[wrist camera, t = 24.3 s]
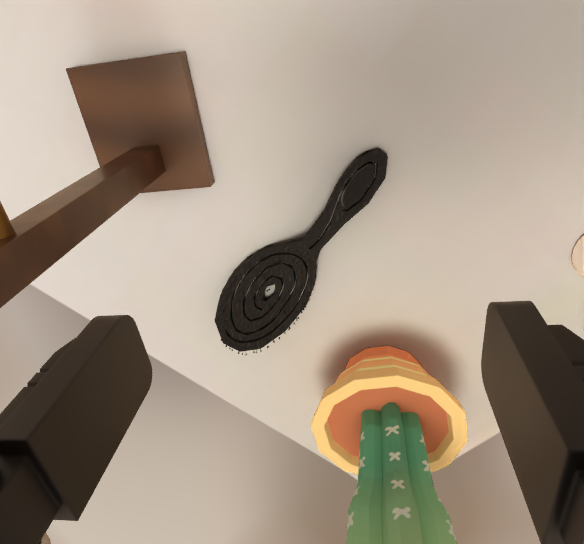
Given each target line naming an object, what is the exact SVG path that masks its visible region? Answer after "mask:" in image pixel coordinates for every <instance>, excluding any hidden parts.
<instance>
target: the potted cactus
mask: <svg viewBox="0 0 584 544" xmlns="http://www.w3.org/2000/svg"><path fill="white" fill-rule="evenodd" d="M311 428H312V431H313V434H314V437H315V440H316V443H317V446H318V449H319V451H320V452H321V453H322V454H324V455H325V456H326V457H327V458H329V459H330V460H331V461H333V462H334V463H335V464H336V465H338V466H339V467H340V468H341V469H343V470H344V471H347V472H351V473H354V474H358V484H357V487H356V490H355V493H354V496H353V498H352V502H351V504H350V507H349V511H348V527H347V543H346V544H457V541H456V537H455V533H454V530H453V526H452V522H451V519H450V517H449V515H448V513H447V511H446V510H445V507H444V506H443V504H442V502H441V500H440V498H439V496H438V494H437V493H436V491H435V489H434V485H433V480H432V475H431V472H434V471H436V470H438V469H441V468H443V467H445V466H448V465H450V463H451V462H452V461H453V460H454V458H455V457H456V456H457V454H458V453H459V452H460V451H461V449H462V448H463V447H464V445H465V444H466V443H467V442H468V436H467V424H466V413H465V411H464V409H463V408H462V406H461V404H460V403H459V401H458V400H457V399H456V398H455V397H454V396H453V395H452V394H451V393H450V392H449V391H448V390H446V389H445V388H444V387H443V386H442V385H441V384H440V383H439V382H438V381H437V380H436V379H435V378H433V377H431V376H430V375H429V374H428V373H427V372H426V371H425V370H424V369H423V368H422V367H421V364H420V363H419V362H418V361H417V360H416V359H415V358H414V357H413V356H412V355H411V354H410V353H409V352H407V351H404V350H400V349H397V348H394V347H390V346H381V347H373V348H366V349H364V350H363V351H361V352H359V353H358V354H356V355H355V356H353V357H351V358H350V360H349V362H348V364H347V366H346V368H345V370H344V372H342V373H341V374H340V375H339V376H338V378H337V380H336V382H335V384H333V385H332V386H330V387H328V388H327V389H326V390H325V392H324V394H323V397H322V399H321V401H320V403H319V405H318V408H317V410H316V412H315V414H314V417H313V420H312V422H311Z"/></svg>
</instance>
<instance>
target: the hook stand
mask: <svg viewBox="0 0 584 544" xmlns="http://www.w3.org/2000/svg"><path fill="white" fill-rule="evenodd" d="M66 71H67V74H68V77H69V79H70V82H71V85H72V88H73V91H74V94H75V97H76V99H77V102H78V105H79V108H80V111H81V114H82V117H83V119H84V122H85V125H86V128H87V131H88V134H89V136H90V139H91V142H92V145H93V148H94V151H95V154H96V156H97V159H98V162H99V165H100V168H98V169H97V170H95V171H93V172H92V173H90V174H88V175H87V176H85V177H83V178H81V179H80V180H78V181H76V182H75V183H73V184H71V185H70V186H68V187H66V188H65V189H63V190H61V191H60V192H58V193H56V194H55V195H53V196H51V197H49V198H48V199H46V200H44V201H43V202H41V203H39V204H38V205H36V206H34V207H33V208H31V209H29V210H28V211H26V212H24V213H22V214H21V215H19V216H17V217H16V218H14V219H12V220H11V221H10V220H9V218H8V216H7V214H6V212H5V210H4V208H3V206H2V204H1V202H0V308H1V307H2V306H3V305H5V304H6V303H7V302H8V301H9V300H10V299H12V298H13V297H14V296H15V295H16V294H18V293H19V292H20V291H21V290H22V289H24V288H25V287H26V286H28V285H29V284H30V283H31V282H32V281H34V280H35V279H36V278H37V277H38V276H40V275H41V274H42V273H43V272H44V271H46V270H47V269H48V268H49V267H51V266H52V265H53V264H54V263H55V262H57V261H58V260H59V259H60V258H61V257H63V256H64V255H65V254H66V253H68V252H69V251H70V250H71V249H72V248H74V247H75V246H76V245H77V244H78V243H80V242H81V241H82V240H83V239H84V238H86V237H87V236H88V235H89V234H91V233H92V232H93V231H94V230H95V229H97V228H98V227H99V226H100V225H101V224H103V223H104V222H105V221H106V220H108V219H109V218H110V217H111V216H112V215H114V214H115V213H116V212H117V211H118V210H120V209H121V208H122V207H123V206H124V205H126V204H127V203H128V202H129V201H131V200H132V199H133V198H134V197H135V196H137V195H138V194H139V193H146V192H157V191H168V190H180V189H191V188H202V187H211V186H212V185H213V183H214V179H213V175H212V170H211V166H210V162H209V157H208V153H207V148H206V144H205V139H204V135H203V130H202V126H201V121H200V117H199V112H198V108H197V103H196V99H195V94H194V90H193V85H192V81H191V76H190V72H189V67H188V63H187V58H186V54H185V52H177V53H170V54H163V55H156V56H149V57H142V58H135V59H128V60H121V61H114V62H107V63H100V64H93V65H87V66H80V67H73V68H67V69H66Z"/></svg>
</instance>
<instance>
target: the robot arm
mask: <svg viewBox="0 0 584 544" xmlns="http://www.w3.org/2000/svg"><path fill="white" fill-rule="evenodd" d="M481 368H482V378H483V383H484V387H485V390H486V393H487V396H488V399H489V401H490V404H491V407H492V410H493V412H494V415H495V418H496V421H497V423H498V426H499V429H500V432H501V434H502V437H503V440H504V443H505V446H506V448H507V451H508V454H509V457H510V459H511V462H512V465H513V468H514V470H515V473H516V476H517V479H518V481H519V484H520V487H521V490H522V492H523V495H524V498H525V501H526V504H527V506H528V509H529V512H530V514H531V517H532V520H533V523H534V526H535V528H536V531H537V534H538V537H539V539H540V542H541V544H584V340H583V339H582V338H580V337H579V336H577V335H576V334H574V333H573V332H572V331H570V330H569V329H567V328H566V327H564V326H563V325H547V324H546V322H545V321H544V319H543V318H542V316H541V314H540V313H539V311H538V310H537V308H536V307H535V305H534V304H533V303H532V302H531V301H513V302H491V303H490V304H489V306H488V309H487V316H486V324H485V333H484V342H483V350H482V360H481ZM151 381H152V367H151V363H150V360H149V357H148V355H147V352H146V349H145V347H144V344H143V341H142V339H141V336H140V333H139V331H138V328H137V326H136V323H135V321H134V319H133V318H132V317H131V316H129V315H116V316H97V317H95V318H93V319H92V320H91V321H90V323H89V324H88V325H87V326H86V327H85V328H84V330H83V331H82V332H81V333H80V334H79V335H78V337H77V338H75V339H73V340H72V341H70V342H69V343H68V344H66V345H65V346H63V347H62V348H60V349H59V350H58V351H57V352H55V353H54V354H53V355H52V356H51V358H50V359H49V360H48V361H47V362H46V363H45V364H44V365H43V366H42V368H41V369H40V373H36V374H35V375H34V377H33V378H32V379H31V380H30V381H29V382H28V386H27V387H24V388H23V389H22V390H21V391H20V392H19V393H18V395H17V396H16V397H15V398H14V399H13V400H12V401H11V403H10V404H9V405H8V406H7V407H6V408H5V409H4V411H3V412H2V413H1V414H0V544H51V543H50V539H49V537H48V535H47V534H46V531H47V529H48V528H49V526H50V524H51V522H52V521H53V520H70V521H78V520H79V518H80V516H81V514H82V512H83V510H84V508H85V507H86V505H87V503H88V501H89V499H90V497H91V496H92V494H93V492H94V490H95V488H96V486H97V485H98V483H99V481H100V479H101V477H102V475H103V474H104V472H105V470H106V468H107V466H108V464H109V463H110V461H111V459H112V457H113V455H114V453H115V451H116V450H117V448H118V446H119V444H120V442H121V440H122V438H123V437H124V435H125V433H126V431H127V429H128V428H129V426H130V424H131V422H132V420H133V418H134V417H135V415H136V413H137V411H138V409H139V407H140V406H141V404H142V402H143V400H144V398H145V396H146V395H147V393H148V391H149V389H150V386H151Z"/></svg>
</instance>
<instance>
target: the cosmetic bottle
mask: <svg viewBox="0 0 584 544" xmlns="http://www.w3.org/2000/svg"><path fill="white" fill-rule="evenodd" d="M572 263H573V266H574V268H575V270H576V271H577V272H578V273H579V274H580V275H581V276H583V277H584V235H583V236H582V237H581V238H580V239H579V241H578V242H577V244H576V245H575V247H574V250H573V253H572Z"/></svg>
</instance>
